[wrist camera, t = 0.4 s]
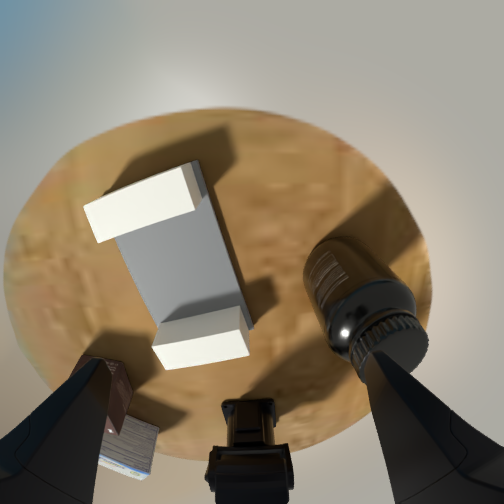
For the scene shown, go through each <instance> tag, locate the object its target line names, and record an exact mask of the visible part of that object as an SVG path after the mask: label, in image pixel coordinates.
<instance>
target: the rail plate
mask: <svg viewBox="0 0 504 504" xmlns="http://www.w3.org/2000/svg"><path fill="white" fill-rule="evenodd" d="M83 207H84V210H85V212H86V215H87V218H88V220H89V223H90V225H91V228H92V230H93V232H94V235H95V237H96V240H97V242H98V243H100V242H103V241H105V240H108V239H111V238H115V240H116V243H117V245H118V247H119V249H120V252H121V254H122V256H123V259H124V261H125V263H126V265H127V267H128V269H129V272H130V274H131V276H132V278H133V280H134V282H135V284H136V286H137V288H138V290H139V292H140V294H141V296H142V298H143V300H144V302H145V304H146V306H147V308H148V310H149V312H150V314H151V316H152V318H153V320H154V321H155V323H156V325H157V327H158V331H157V333H156V336H155V339H154V341H153V344H152V348H153V350H154V352H155V353H156V355H157V356H158V358H159V360H160V361H161V363H162V364H163V366H164V367H165V369H166V370H170V369H177V368H184V367H190V366H196V365H202V364H208V363H213V362H219V361H224V360H229V359H234V358H239V357H244V356H249V355H250V349H249V330H253V329H254V325H253V322H252V319H251V316H250V313H249V311H248V308H247V305H246V302H245V299H244V296H243V294H242V291H241V288H240V285H239V282H238V279H237V276H236V273H235V270H234V268H233V265H232V262H231V259H230V256H229V253H228V250H227V247H226V244H225V241H224V238H223V235H222V232H221V229H220V226H219V223H218V220H217V217H216V214H215V211H214V208H213V205H212V202H211V199H210V196H209V193H208V190H207V187H206V183H205V180H204V177H203V174H202V171H201V168H200V165H199V162H198V160H195V161H192V162H189V163H186V164H183V165H180V166H177V167H174V168H172V169H169V170H166V171H163V172H161V173H158V174H155V175H153V176H150V177H147V178H145V179H142V180H140V181H137V182H135V183H132V184H130V185H127V186H125V187H122V188H120V189H118V190H115V191H113V192H110V193H108V194H106V195H104V196H101V197H99V198H98V199H96V200H94V201H92V202H90V203H88V204H86V205H85V206H83Z"/></svg>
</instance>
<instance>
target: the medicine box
mask: <svg viewBox="0 0 504 504" xmlns="http://www.w3.org/2000/svg"><path fill="white" fill-rule="evenodd" d="M158 432H159V427H156V426H153V425H151V424H148V423H146V422H143V421H141V420H138V419H136V418H134V417H131V416H129V415H127V414H126V416H125V419H124V422H123V426H122V429H121V431H120V435H119V436H116V435H112V434H108V433H104V434H103V439H102V444H101V450H100V455H99V461H98V464H100V465H102V466H105V467H107V468H109V469H112V470H114V471H117V472H119V473H122V474H125V475H128V476H130V477H133V478H136V479H139V480H143V479H144V478H145V477H147V476H148V475H149V474H150V472H151V466H152V461H153V456H154V451H155V446H156V441H157V436H158Z"/></svg>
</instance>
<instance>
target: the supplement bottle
mask: <svg viewBox="0 0 504 504" xmlns="http://www.w3.org/2000/svg"><path fill="white" fill-rule="evenodd" d="M303 282H304V286H305V289H306V292H307V294H308V297H309V299H310V302H311V304H312V307H313V309H314V312H315V314H316V317H317V319H318V322H319V324H320V327H321V329H322V332H323V334H324V337H325V339H326V342H327V344H328V346H329V348H330V349H331V351H332V352H333V353H334V354H335V355H336V356H338V357H339V358H341V359H343V360H345V361H347V362H351V364H352V366H353V367H354V368H355V370H356V373H357V375H358V377H359V378H360V380H361V381H362V382H363V383H365V384H366V379H365V374H364V368H365V365H366V362H367V359H368V357H369V354H370V353H371V352H373V351H379V350H381V351H384V352H385V353H386V354H387V355H388V356H390V357H391V358H392V359H393V360H394V361H395V362H397V363H398V364H399V365H400V366H401V367H402V368H404V369H405V370H406V371H407V372H408V373H411V372H412V371H413V370H414V369H415V368H416V367H417V366H418V365H419V363H421V361H422V359H423V358H424V357H425V354H426V352H427V348H428V345H429V344H428V341H429V339H428V335H427V333H426V332H425V330H424V329H423V328H422V326H421V325H420V323H419V321H418V319H417V318H416V302H415V298H414V295H413V293H412V292H411V290H410V289H409V288H408V286H407V285H406V284H405V283H404V282H403V281H402V280H401V279H400V278H399V277H398V276H397V275H396V274H395V273H394V272H393V271H392V270H391V269H390V268H389V267H388V266H387V265H386V264H385V263H384V262H383V261H382V260H381V259H380V258H379V257H378V256H377V255H376V254H375V253H374V252H373V251H372V250H371V249H370V248H369V247H368V246H366V245H365V244H364V243H363V242H361V241H360V240H358V239H355V238H352V237H336V238H332V239H329V240H327V241H325V242H323V243H322V244H320V245H319V246H318V247H317V248H316V249H315V250H314V251H313V252H312V253H311V254H310V256H309V257H308V259H307V261H306V264H305V267H304V271H303ZM366 385H367V384H366Z"/></svg>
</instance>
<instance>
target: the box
mask: <svg viewBox="0 0 504 504" xmlns="http://www.w3.org/2000/svg"><path fill="white" fill-rule="evenodd" d="M92 357H93V356H87V355H82V356H81V357H80V359H79V361H78V362H77V364H76V366H75V368H74V369H73V371H72V373H71V375H70V377H71V376H72V375H73V374H74V373H75V372H76V371H77V370H79V369H80V368H81V367H82V366H83V365H84V364H85V363H86V362H88V361H89V360H90V359H91V358H92ZM103 359H104V358H103ZM104 360H105V361H106V363H107V365H108V367H109V369H110V370H111V372H112V384H111V392H110V400H109V408H108V415H107V420H106V425H105V430H104V433H108V434H112V435H116V436H119V435H120V431H121V429H122V426H123V422H124V419H125V416H126V413H127V410H128V407H129V405H130V402H131V399H132V396H133V391H132V388H131V385H130V383H129V380H128V377H127V374H126V371H125V368H124V365H123V363H122V362H119V361H115V360H109V359H104ZM70 377H69V378H70ZM69 378H68V379H69Z"/></svg>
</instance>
